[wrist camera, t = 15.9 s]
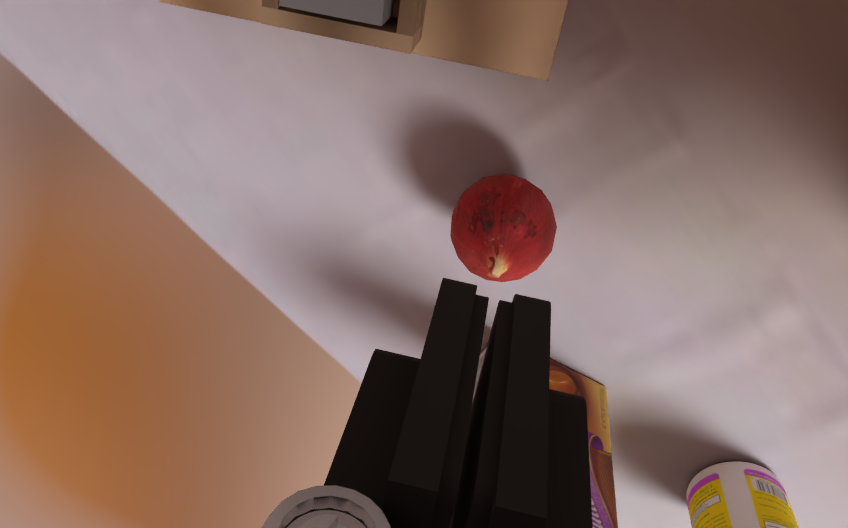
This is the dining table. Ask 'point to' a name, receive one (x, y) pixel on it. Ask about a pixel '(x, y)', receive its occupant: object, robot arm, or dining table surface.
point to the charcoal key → (347, 9)
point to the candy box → (589, 438)
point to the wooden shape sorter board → (430, 29)
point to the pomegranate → (503, 228)
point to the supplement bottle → (738, 498)
